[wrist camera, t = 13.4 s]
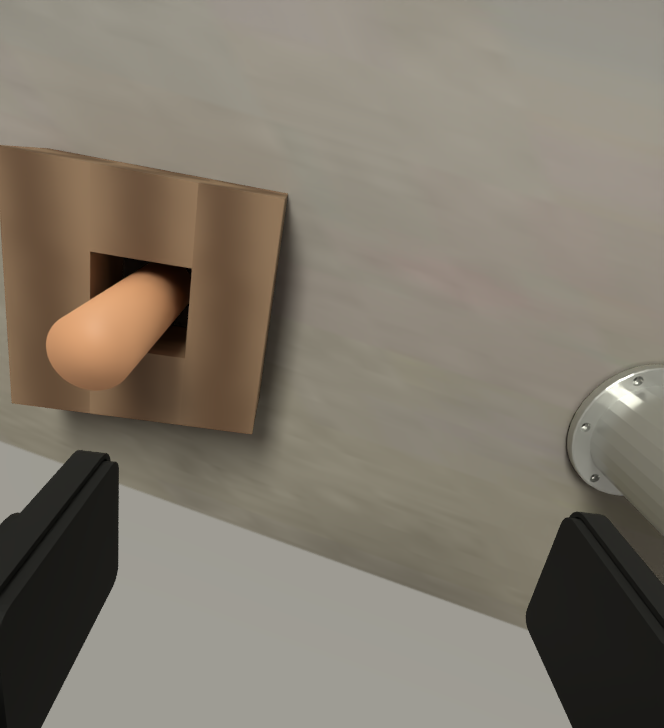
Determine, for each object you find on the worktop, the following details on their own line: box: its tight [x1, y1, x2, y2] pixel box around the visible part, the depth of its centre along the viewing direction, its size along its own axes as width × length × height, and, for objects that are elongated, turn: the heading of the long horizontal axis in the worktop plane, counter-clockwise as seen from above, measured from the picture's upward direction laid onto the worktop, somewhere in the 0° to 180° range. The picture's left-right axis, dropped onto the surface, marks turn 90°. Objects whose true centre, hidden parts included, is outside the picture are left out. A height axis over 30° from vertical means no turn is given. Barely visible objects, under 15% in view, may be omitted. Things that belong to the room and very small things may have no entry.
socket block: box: [0, 145, 288, 434], centre depth 34 cm, size 16×16×6 cm
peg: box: [46, 262, 191, 391], centre depth 30 cm, size 4×4×14 cm
